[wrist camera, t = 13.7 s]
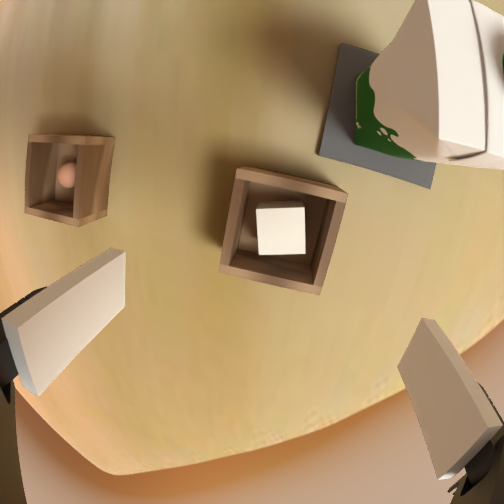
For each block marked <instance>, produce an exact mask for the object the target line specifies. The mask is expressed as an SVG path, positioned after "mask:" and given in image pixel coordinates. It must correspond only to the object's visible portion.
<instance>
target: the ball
mask: <svg viewBox="0 0 504 504" xmlns="http://www.w3.org/2000/svg"><path fill="white" fill-rule="evenodd" d="M76 164H77V163H75V162H72V161H70V162H66V163H64V164H63V165H62V166H61V167H60V169H59V171H58V180H59V182H60V184H61V185H62V186H64V187H66V188H71V187H74V186H75V175H76Z"/></svg>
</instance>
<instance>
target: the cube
mask: <svg viewBox="0 0 504 504" xmlns="http://www.w3.org/2000/svg"><path fill="white" fill-rule="evenodd" d="M256 218H257V234H258V249H259V255H281V254H305V209H304V204H303V201H302V200H300V201H271V202H260V203H259V205H258V207H257V208H256Z"/></svg>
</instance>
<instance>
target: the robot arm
mask: <svg viewBox="0 0 504 504" xmlns="http://www.w3.org/2000/svg"><path fill="white" fill-rule="evenodd" d="M125 261H126V251H123V250H119V249H115V248H110V249H108V250H106V251H105V252H103V253H101V254H100V255H98V256H96V257H94V258H93V259H91V260H90V261H88V262H86V263H85V264H83V265H81V266H80V267H78V268H76V269H75V270H73V271H72V272H70V273H68V274H67V275H65V276H64V277H62V278H61V279H59V280H57V281H56V282H54V283H53V284H51V285H50V286H48V287H47V286H46V287H43V288H40V289H37V290H34V291H33V292H31V293H30V294H28V295H27V296H25V298H22V299H21V300H19V301H18V303H15V304H13V305H12V306H10V307H9V308H7V309H6V310H4V311H3V312H1V313H0V504H27V502H26V497H25V493H24V488H23V482H22V477H21V470H20V463H19V455H18V447H17V435H16V420H15V386H14V382H13V379H14V378H15V377H16V376H17V375H19V378H20V381H21V383H22V386H23V387H24V388H25V389H27V390H28V391H30V392H31V393H33V394H35V395H36V396H38V397H39V396H40V395H41V394H42V393H43V392H44V390H45V389H46V388H47V387H48V386H49V385H50V384H51V383H52V382H53V381H54V379H55V378H56V377H57V376H58V375H59V374H60V373H61V372H62V371H63V370H64V369H65V368H66V366H67V365H68V364H69V363H70V362H71V361H72V360H73V359H74V358H75V357H76V356H77V355H78V354H79V353H80V352H81V351H82V349H83V348H84V347H85V346H86V345H87V344H88V343H89V342H90V341H91V340H92V339H93V338H94V337H95V336H96V335H97V334H98V333H99V332H100V331H101V330H102V329H103V328H104V327H105V326H106V325H107V324H108V323H109V322H110V321H111V320H112V319H113V318H114V317H115V316H116V315H117V314H118V313H119V312H120V311H121V310H122V309H123V308H124V307H125ZM397 367H398V369H399V372H400V374H401V377H402V379H403V382H404V384H405V387H406V389H407V392H408V394H409V397H410V400H411V402H412V405H413V408H414V410H415V413H416V415H417V418H418V421H419V424H420V427H421V429H422V432H423V435H424V438H425V441H426V444H427V447H428V450H429V453H430V456H431V459H432V463H433V466H434V469H435V473H436V476H437V479H438V480H440V479H447V478H452V477H454V476H455V475H456V474H458V473H459V472H460V471H461V470H462V469H463V468H464V467H465V470H466V474H465V475H464V476H463V477H462V478H461V479H460V480H458V481H457V482H456V483H455V484H454V485H453V486H452V487H450V489H449V490H448V492H449V493H450V491H452V490H453V489H454V488H456V487H457V489H456V491H455V492H454V493H453V495H454V496H453V499H452V501H451V503H450V504H504V422H503V420H502V418H501V416H500V415H499V413H498V411H497V410H496V408H495V406H493V403H492V401H491V400H490V398H488V395H487V393H486V391H485V390H484V388H483V387H482V386H481V385H480V384H479V383H478V382H477V381H476V379H475V378H474V376H473V374H472V373H471V371H470V370H469V368H468V367H467V365H466V364H465V362H464V361H463V360H462V358H461V356H460V355H459V353H458V352H457V351H456V349H455V348H454V346H453V345H452V343H451V342H450V340H449V339H448V338H447V336H446V335H445V333H444V332H443V331H442V329H441V328H440V327H439V325H438V324H437V322H436V321H435V320H431V319H426V318H421V320H420V322H419V325H418V327H417V329H416V331H415V333H414V335H413V337H412V339H411V341H410V343H409V345H408V347H407V349H406V351H405V353H404V355H403V357H402V359H401V361H400V363H399V364H398V366H397Z"/></svg>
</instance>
